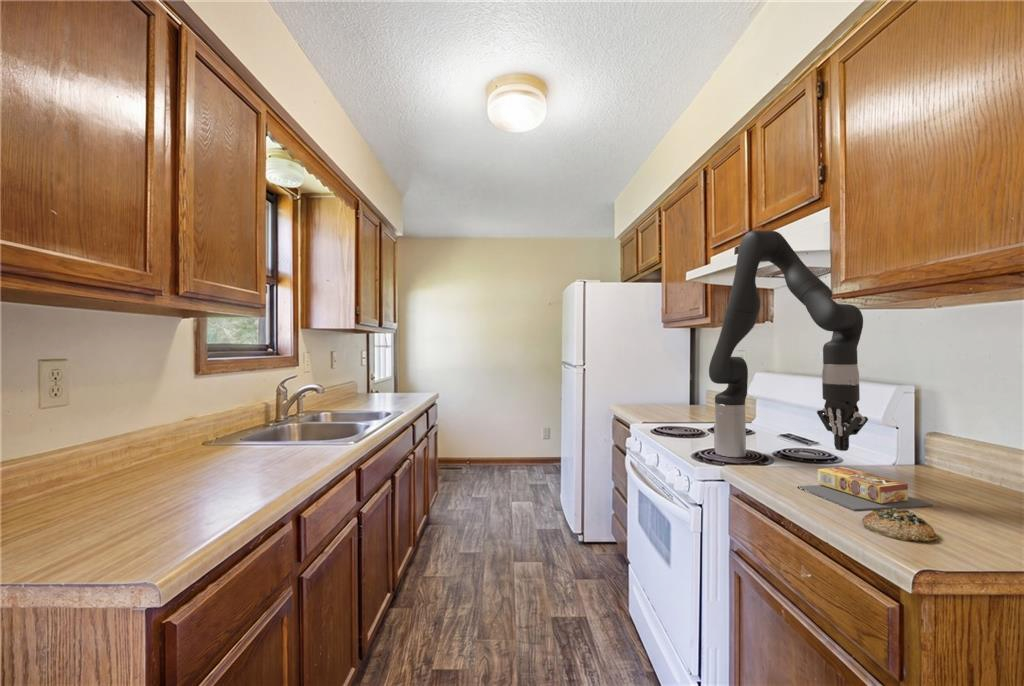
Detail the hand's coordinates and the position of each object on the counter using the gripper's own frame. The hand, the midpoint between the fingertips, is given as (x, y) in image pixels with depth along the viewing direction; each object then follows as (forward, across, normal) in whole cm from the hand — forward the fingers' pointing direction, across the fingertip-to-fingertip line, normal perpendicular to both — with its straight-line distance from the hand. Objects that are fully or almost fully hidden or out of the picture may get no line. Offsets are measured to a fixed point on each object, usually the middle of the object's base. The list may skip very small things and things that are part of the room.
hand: (841, 450), depth 110 cm
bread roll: (+11, +23, -11) cm, 28 cm away
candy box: (+7, -4, 0) cm, 9 cm away
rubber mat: (+10, +5, 0) cm, 11 cm away
